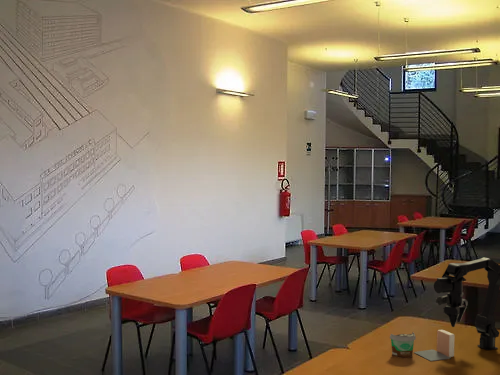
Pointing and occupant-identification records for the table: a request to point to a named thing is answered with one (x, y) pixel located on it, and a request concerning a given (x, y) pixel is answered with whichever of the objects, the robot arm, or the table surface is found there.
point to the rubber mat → (432, 355)
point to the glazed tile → (445, 343)
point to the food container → (402, 345)
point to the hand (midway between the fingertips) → (455, 324)
